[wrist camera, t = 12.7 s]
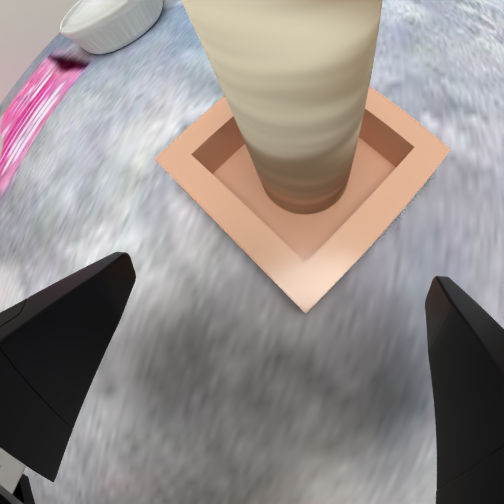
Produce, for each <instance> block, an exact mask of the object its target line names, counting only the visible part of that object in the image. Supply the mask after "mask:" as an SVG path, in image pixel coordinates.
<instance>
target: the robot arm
mask: <svg viewBox="0 0 504 504" xmlns="http://www.w3.org/2000/svg"><path fill="white" fill-rule="evenodd" d="M135 279H136V274H135V270H134V267H133V264H132V261H131V258H130V255H129V254H128V253H126V252H115V253H113V254H111V255H109V256H107V257H105V258H103V259H101V260H99V261H97V262H95V263H93V264H91V265H89V266H87V267H85V268H83V269H81V270H79V271H77V272H75V273H73V274H71V275H69V276H67V277H66V278H64V279H62V280H60V281H58V282H56V283H54V284H52V285H50V286H49V287H47V288H45V289H43V290H41V291H39V292H38V293H36V294H34V295H32V296H30V297H29V298H28V299H25V300H23V301H21V302H19V303H18V304H16V305H14V306H12V307H10V308H8V309H7V310H5V311H3V312H1V313H0V504H35V502H34V498H33V494H32V491H31V487H30V483H29V479H28V477H27V476H26V475H25V474H23V472H24V470H25V468H26V466H27V467H29V468H30V469H32V470H34V471H35V472H37V473H38V474H40V475H42V476H43V477H45V478H47V479H48V480H50V481H52V482H54V480H55V478H56V476H57V473H58V470H59V467H60V464H61V461H62V458H63V455H64V452H65V449H66V447H67V444H68V441H69V438H70V436H71V433H72V430H73V429H72V428H73V427H74V425H75V422H76V419H77V417H78V414H79V412H80V409H81V407H82V404H83V402H84V400H85V397H86V395H87V392H88V390H89V388H90V385H91V383H92V381H93V378H94V376H95V374H96V371H97V369H98V367H99V365H100V362H101V360H102V358H103V356H104V354H105V351H106V349H107V347H108V345H109V343H110V341H111V339H112V336H113V334H114V332H115V330H116V328H117V326H118V324H119V322H120V319H121V317H122V314H123V312H124V309H125V306H126V304H127V301H128V298H129V296H130V293H131V291H132V288H133V285H134V283H135ZM425 310H426V323H427V340H428V355H429V363H430V370H431V378H432V387H433V397H434V408H435V421H436V441H437V491H436V504H504V329H503V328H502V327H501V326H500V325H499V324H498V323H497V322H496V321H495V320H494V319H493V318H492V317H491V316H490V315H489V314H488V313H487V312H486V311H485V310H484V309H483V308H482V307H481V306H480V305H479V304H477V303H476V302H475V301H474V300H473V299H472V298H471V297H470V296H469V295H468V294H467V293H466V292H464V291H463V290H462V289H461V288H460V287H459V286H458V285H457V284H456V283H454V282H453V281H452V280H451V279H450V278H449V277H445V276H436V277H434V279H433V281H432V283H431V286H430V289H429V292H428V295H427V297H426V301H425Z"/></svg>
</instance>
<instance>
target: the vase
mask: <svg viewBox="0 0 504 504" xmlns="http://www.w3.org/2000/svg"><path fill="white" fill-rule="evenodd" d="M181 1H182V3H183V5H184V7H185V9H186V12H187V14H188V16H189V18H190V20H191V22H192V24H193V26H194V29H195V31H196V33H197V35H198V37H199V39H200V42H201V44H202V46H203V48H204V50H205V53H206V55H207V57H208V59H209V61H210V64H211V66H212V68H213V70H214V72H215V75H216V77H217V79H218V81H219V84H220V86H221V88H222V91H223V93H224V95H225V97H226V100H227V102H228V104H229V107H230V109H231V111H232V114H233V116H234V118H235V121H236V123H237V125H238V128H239V130H240V132H241V135H242V137H243V139H244V142H245V144H246V147H247V149H248V151H249V154H250V156H251V159H252V161H253V163H254V166H255V168H256V171H257V173H258V176H259V178H260V181H261V183H262V186H263V188H264V190H265V192H266V194H267V195H268V197H269V198H270V199H271V200H272V201H273V202H274V203H275V204H276V205H277V206H279V207H280V208H282V209H284V210H286V211H288V212H292V213H296V214H315V213H319V212H322V211H324V210H326V209H328V208H330V207H331V206H333V205H334V204H335V203H336V202H338V200H339V199H340V198H341V197H342V195H343V194H344V192H345V190H346V187H347V184H348V180H349V176H350V172H351V168H352V164H353V159H354V155H355V151H356V147H357V142H358V138H359V133H360V129H361V124H362V119H363V115H364V110H365V105H366V100H367V95H368V89H369V84H370V79H371V73H372V67H373V62H374V56H375V50H376V43H377V37H378V30H379V23H380V16H381V8H382V0H181Z"/></svg>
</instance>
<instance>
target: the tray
mask: <svg viewBox="0 0 504 504" xmlns="http://www.w3.org/2000/svg"><path fill="white" fill-rule="evenodd" d="M449 152H450V149H449V148H448V147H447V146H446V145H445V144H444V143H443V142H441V141H440V140H439V139H438V138H437V137H436V136H434V135H433V134H432V133H431V132H430V131H429V130H427V129H426V128H425V127H424V126H422V125H421V124H420V123H419V122H417V121H416V120H415V119H414V118H412V117H411V116H410V115H409V114H407V113H406V112H405V111H403V110H402V109H401V108H399V107H398V106H397V105H395V104H394V103H393V102H391V101H390V100H388V99H387V98H386V97H384V96H383V95H381V94H380V93H379V92H377V91H376V90H374V89H373V88H371V87H370V86H369V89H368V95H367V100H366V105H365V110H364V115H363V119H362V124H361V129H360V133H359V138H358V142H357V147H356V151H355V155H354V159H353V164H352V168H351V172H350V176H349V180H348V184H347V187H346V190H345V192H344V194H343V195H342V197H341V198H340V199H339V200H338V202H336V203H335V204H334V205H333V206H331V207H330V208H328V209H326V210H324V211H322V212H319V213H315V214H296V213H292V212H288V211H286V210H284V209H282V208H280V207H279V206H277V205H276V204H275V203H274V202H273V201H272V200H271V199H270V198H269V197H268V195H267V194H266V192H265V190H264V188H263V186H262V183H261V181H260V178H259V176H258V173H257V171H256V168H255V166H254V163H253V161H252V159H251V156H250V154H249V151H248V149H247V147H246V144H245V142H244V139H243V137H242V135H241V132H240V130H239V128H238V125H237V123H236V121H235V118H234V116H233V114H232V111H231V109H230V107H229V104H228V102H227V100H226V97H225V96H224V97H223V98H221V99H220V100H219V101H218V102H217V103H215V104H214V105H213V106H212V107H211V108H210V109H208V110H207V111H206V112H205V113H204V114H203V115H202V116H200V117H199V118H198V119H197V120H196V121H195V122H194V123H193V124H192V125H190V126H189V127H188V128H187V129H186V130H185V131H184V132H183V133H182V134H181V135H180V136H178V137H177V138H176V139H175V140H174V141H173V142H172V143H171V144H170V145H169V146H168V147H167V148H166V149H165V150H164V151H163V152H162V153H161V154H160V155H159V156H158V157H157V158H156V159H155V160H156V161H157V162H158V163H159V164H160V165H161V166H162V167H163V168H164V169H165V170H166V171H167V172H168V173H169V174H170V175H171V176H172V177H173V178H174V179H175V180H176V181H177V182H178V183H179V185H180V186H181V187H182V188H183V189H184V190H185V191H186V192H187V193H188V194H189V195H190V196H191V197H192V198H193V199H194V200H195V201H196V202H197V203H198V204H199V205H200V206H201V207H202V208H203V209H204V210H205V211H206V212H207V213H208V214H209V215H210V216H211V217H212V218H213V220H214V221H215V222H216V223H217V224H218V225H219V226H220V227H221V228H222V229H223V230H224V231H225V232H226V233H227V234H228V235H229V236H230V237H231V238H232V239H233V240H234V241H235V242H236V243H237V244H238V245H239V246H240V247H241V248H242V249H243V250H244V251H245V252H246V253H247V254H248V255H249V256H250V257H251V258H252V259H253V261H254V262H255V263H256V264H257V265H258V266H259V267H260V268H261V269H262V270H263V271H264V272H265V273H266V274H267V275H268V276H269V277H270V278H271V279H272V280H273V281H274V282H275V283H276V284H277V285H278V286H279V287H280V288H281V289H282V290H283V291H284V292H285V293H286V294H287V295H288V296H289V297H290V298H291V299H292V300H293V301H294V302H295V303H296V304H297V305H298V306H299V307H300V308H301V310H302V311H303V312H304V313H307V312H308V311H309V310H310V309H311V308H312V307H314V306H315V305H316V304H317V303H318V302H319V301H320V300H321V299H322V298H323V297H324V295H325V294H326V293H327V292H328V291H329V290H330V289H331V288H332V287H333V286H334V285H335V284H336V283H337V282H338V281H339V280H340V279H341V278H342V277H343V276H344V275H345V274H346V273H347V272H348V271H349V270H350V269H351V268H352V266H353V265H354V264H355V263H356V262H357V261H358V260H359V259H360V258H361V257H362V256H363V255H364V254H365V253H366V251H367V250H368V249H369V248H370V247H371V246H372V245H373V244H374V243H375V242H376V240H377V239H378V238H379V237H380V236H381V235H382V234H383V233H384V231H385V230H386V229H387V228H388V227H389V226H390V225H391V224H392V222H393V221H394V220H395V219H396V218H397V217H398V215H399V214H400V213H401V212H402V211H403V210H404V208H405V207H406V206H407V205H408V204H409V203H410V201H411V200H412V199H413V198H414V197H415V195H416V194H417V193H418V192H419V191H420V189H421V188H422V187H423V186H424V184H425V183H426V182H427V181H428V179H429V178H430V177H431V176H432V174H433V173H434V172H435V170H436V169H437V168H438V166H439V165H440V164H441V162H442V161H443V160H444V158H445V157H446V156H447V154H448V153H449Z"/></svg>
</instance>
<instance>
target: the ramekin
mask: <svg viewBox="0 0 504 504" xmlns="http://www.w3.org/2000/svg"><path fill="white" fill-rule="evenodd" d="M162 7H163V2H162V0H80V1H78V2H77V3H76V4H75V5H74V6H73V7H72V8H71V9H70V11H69V12H68V13H67V14H66V16H65V17H64V19H63V20H62V22H61V25H60V32H61V34H62V35H63V36H64V37H66V38H69V39H71V40H72V41H74V42H75V43H76V44H78V45H79V46H80V47H82V48H83V49H84V50H86V51H87V52H89V53H92V54H106V53H110V52H113V51H116V50H118V49H120V48H122V47H124V46H126V45H128V44H130V43H131V42H133V41H134V40H136V39H137V38H139V37H140V36H141V35H143V34H144V33H145V32H146V31H148V30H149V29H150V28H151V27H152V26H153V25H154V24H155V22H156V21H157V20H158V18H159V16H160V14H161V11H162Z"/></svg>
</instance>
